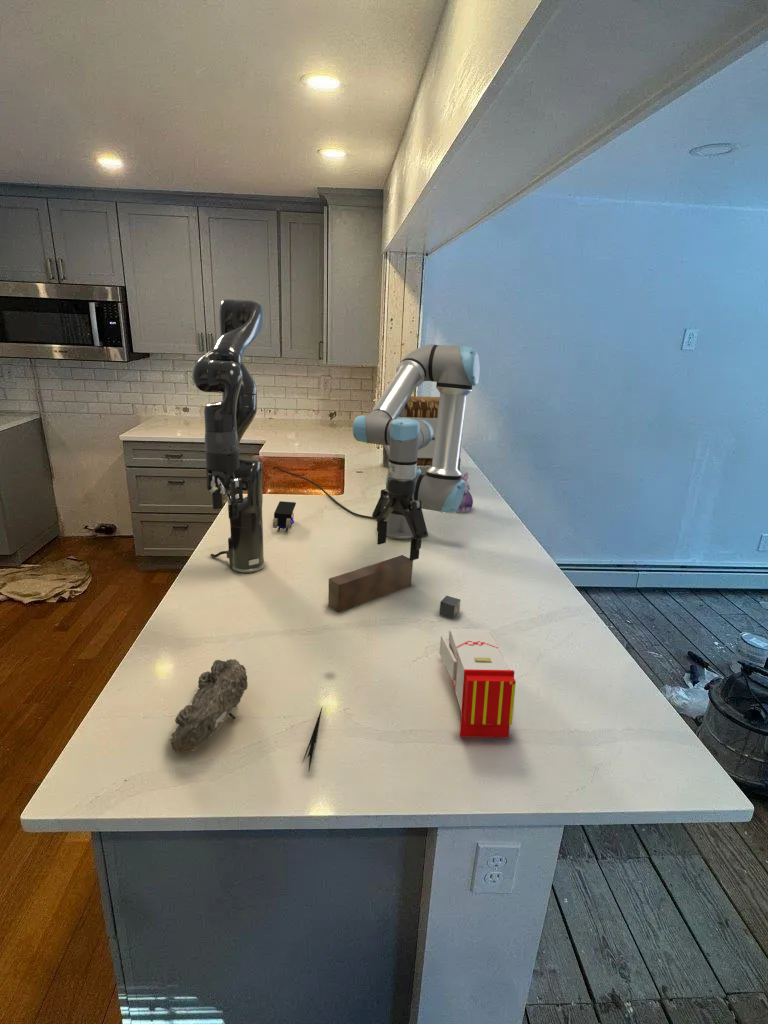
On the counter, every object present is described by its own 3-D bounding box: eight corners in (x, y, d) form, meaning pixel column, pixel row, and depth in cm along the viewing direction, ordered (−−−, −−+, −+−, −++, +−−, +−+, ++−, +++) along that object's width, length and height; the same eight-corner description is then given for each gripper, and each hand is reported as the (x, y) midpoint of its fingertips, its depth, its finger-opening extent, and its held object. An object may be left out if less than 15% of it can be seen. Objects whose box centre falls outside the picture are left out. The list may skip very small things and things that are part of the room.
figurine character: (291, 538, 195) (297, 518, 208) (291, 518, 192) (296, 500, 205) (272, 537, 195) (278, 518, 208) (271, 518, 191) (277, 499, 205)
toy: (489, 613, 130) (525, 677, 101) (485, 667, 133) (518, 744, 104) (437, 612, 130) (457, 676, 101) (434, 666, 133) (453, 743, 103)
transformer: (381, 463, 289) (385, 382, 275) (444, 464, 292) (450, 384, 279) (389, 482, 257) (393, 392, 243) (459, 483, 261) (467, 394, 247)
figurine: (459, 514, 221) (463, 477, 216) (445, 506, 229) (448, 470, 224) (479, 511, 225) (483, 475, 220) (464, 503, 234) (467, 468, 228)
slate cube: (439, 615, 148) (440, 601, 147) (445, 608, 151) (446, 595, 150) (453, 619, 146) (454, 605, 145) (459, 612, 149) (460, 599, 148)
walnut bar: (338, 612, 147) (338, 585, 144) (328, 605, 150) (328, 578, 147) (411, 585, 163) (413, 560, 160) (400, 579, 166) (402, 554, 164)
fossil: (195, 660, 117) (247, 628, 112) (227, 691, 120) (279, 661, 115) (146, 746, 98) (206, 711, 93) (185, 779, 101) (245, 748, 96)
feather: (331, 679, 122) (336, 673, 122) (307, 777, 96) (313, 769, 95) (324, 675, 122) (329, 669, 121) (298, 772, 95) (304, 764, 95)
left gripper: (193, 444, 135) (198, 508, 140) (220, 457, 125) (224, 525, 130) (223, 440, 140) (226, 502, 145) (251, 452, 130) (253, 519, 135)
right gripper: (361, 469, 158) (359, 539, 165) (424, 491, 140) (418, 569, 147) (382, 465, 162) (378, 534, 169) (445, 487, 145) (438, 563, 152)
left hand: (225, 513), depth 138 cm, fingers open, 8 cm apart
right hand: (397, 551), depth 158 cm, fingers open, 13 cm apart
